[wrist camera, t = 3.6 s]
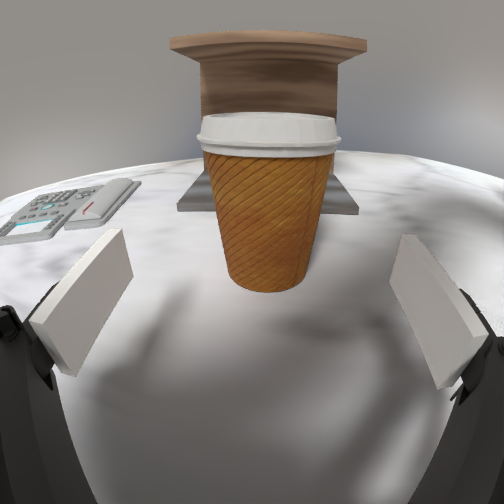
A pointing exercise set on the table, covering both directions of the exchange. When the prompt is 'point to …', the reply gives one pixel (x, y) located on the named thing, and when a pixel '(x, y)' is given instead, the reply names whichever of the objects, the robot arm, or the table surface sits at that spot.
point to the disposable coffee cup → (268, 191)
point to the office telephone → (69, 210)
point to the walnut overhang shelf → (268, 87)
